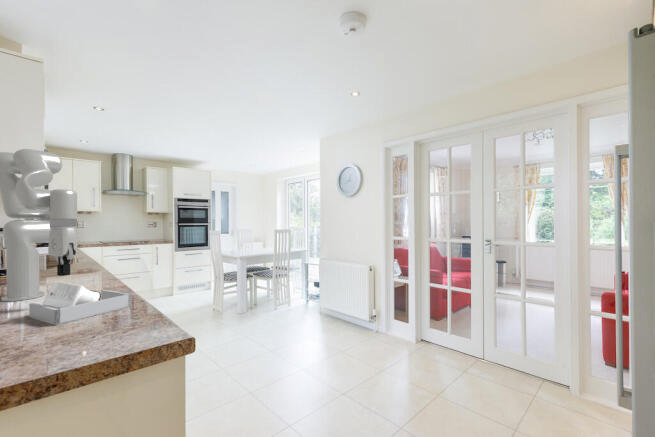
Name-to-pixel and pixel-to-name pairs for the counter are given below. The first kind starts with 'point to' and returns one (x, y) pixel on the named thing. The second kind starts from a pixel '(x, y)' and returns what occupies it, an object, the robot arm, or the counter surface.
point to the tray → (80, 308)
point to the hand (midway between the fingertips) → (63, 275)
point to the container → (69, 295)
